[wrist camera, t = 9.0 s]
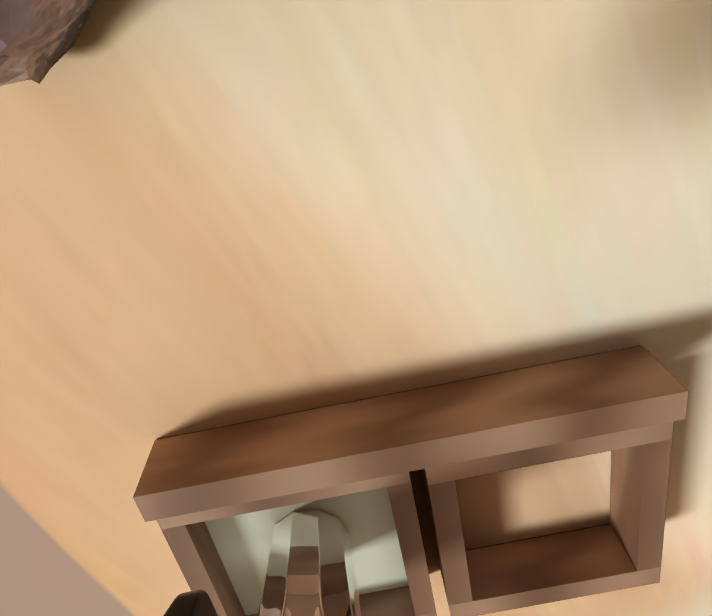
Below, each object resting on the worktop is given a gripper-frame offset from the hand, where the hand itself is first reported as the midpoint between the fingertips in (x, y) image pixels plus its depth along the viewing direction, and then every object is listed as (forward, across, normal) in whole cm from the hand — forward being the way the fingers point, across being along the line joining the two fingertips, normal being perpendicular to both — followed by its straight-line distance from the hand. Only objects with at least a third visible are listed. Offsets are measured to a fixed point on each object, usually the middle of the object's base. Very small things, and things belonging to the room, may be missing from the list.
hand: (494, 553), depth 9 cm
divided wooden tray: (+12, +1, +12) cm, 17 cm away
